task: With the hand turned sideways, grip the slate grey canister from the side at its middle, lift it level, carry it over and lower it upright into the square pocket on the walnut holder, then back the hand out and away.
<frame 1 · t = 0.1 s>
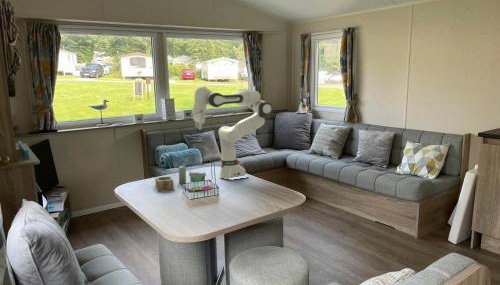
hand: (198, 128, 267), 39 cm above the table, tool pointing down, fingers open, 8 cm apart
slate grey canister: (182, 183, 266), on the table
food container: (196, 187, 258), on the table
walnut holder: (164, 187, 255), on the table
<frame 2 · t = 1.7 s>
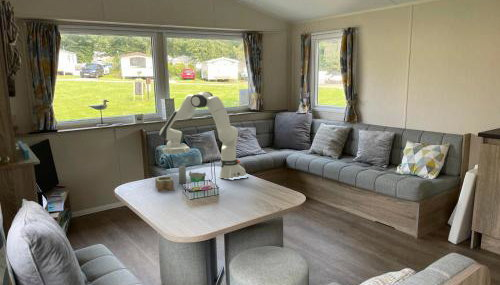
hand: (178, 152, 274), 20 cm above the table, tool horizontal, fingers open, 8 cm apart
nothing on the table moved.
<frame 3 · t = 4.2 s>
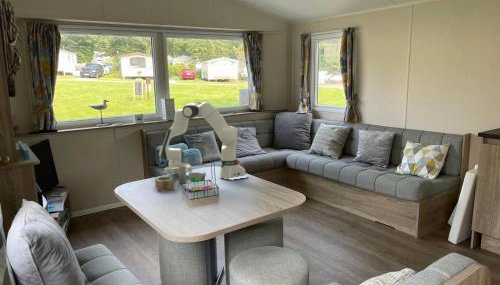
hand: (180, 171, 272), 6 cm above the table, tool horizontal, fingers open, 8 cm apart
nothing on the table moved.
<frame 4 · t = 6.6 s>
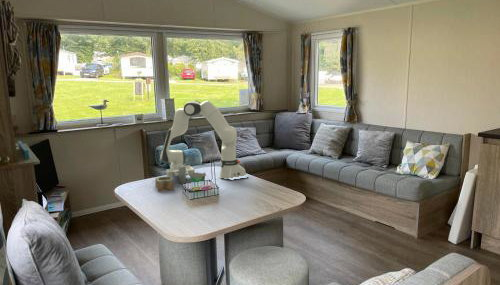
hand: (182, 174, 264), 7 cm above the table, tool horizontal, fingers closed on slate grey canister, 5 cm apart
slate grey canister: (182, 183, 266), on the table, touching gripper
everything else where it was.
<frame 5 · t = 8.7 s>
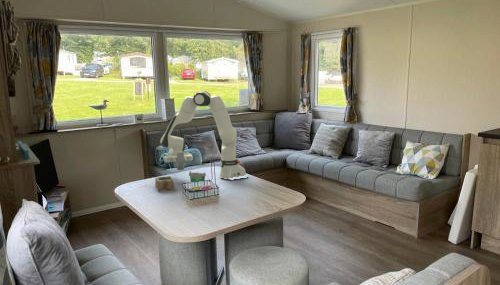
hand: (180, 160, 262), 17 cm above the table, tool horizontal, fingers closed on slate grey canister, 5 cm apart
slate grey canister: (180, 169, 264), point 10 cm above the table, touching gripper
everything else where it was.
when the fingers open (13 cm above the table, at t = 10.9 s): slate grey canister drops 1 cm, resting on walnut holder.
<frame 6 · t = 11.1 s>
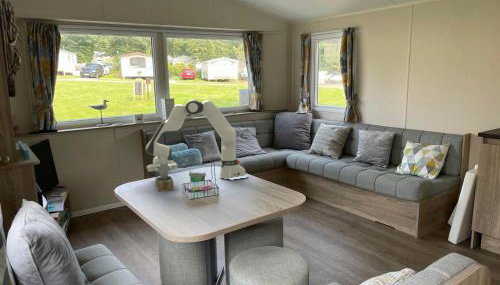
hand: (164, 169, 252), 13 cm above the table, tool horizontal, fingers open, 7 cm apart
slate grey canister: (164, 180, 254), point 5 cm above the table, touching walnut holder
everything else where it was.
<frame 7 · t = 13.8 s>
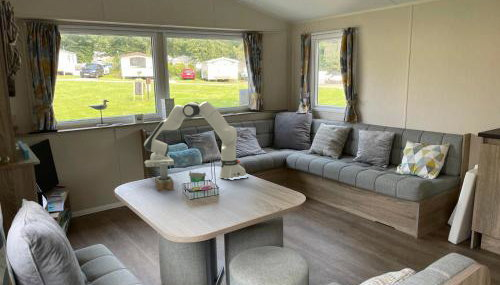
hand: (161, 165, 264), 13 cm above the table, tool horizontal, fingers open, 8 cm apart
nothing on the table moved.
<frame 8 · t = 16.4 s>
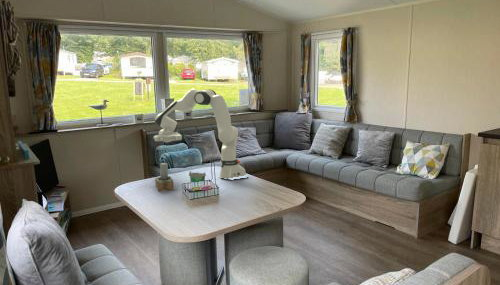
hand: (169, 139, 271), 30 cm above the table, tool horizontal, fingers open, 8 cm apart
nothing on the table moved.
at the end: slate grey canister 0.0 cm off-centre on the walnut holder, point 5.0 cm above the walnut holder's base; slate grey canister tilted 1°; the gripper is holding nothing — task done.
